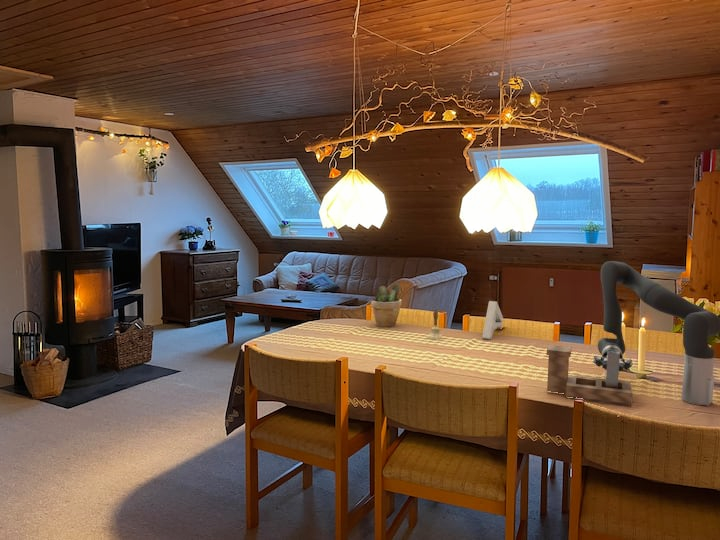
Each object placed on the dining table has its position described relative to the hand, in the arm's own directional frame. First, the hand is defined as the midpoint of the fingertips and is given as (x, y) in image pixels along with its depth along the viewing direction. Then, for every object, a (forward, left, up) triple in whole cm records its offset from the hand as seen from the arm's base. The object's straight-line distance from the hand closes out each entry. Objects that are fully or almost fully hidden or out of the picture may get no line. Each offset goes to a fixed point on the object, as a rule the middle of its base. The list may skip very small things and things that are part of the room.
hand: (612, 367), depth 203 cm
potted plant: (+145, -41, -13) cm, 151 cm away
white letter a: (+88, -68, -13) cm, 112 cm away
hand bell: (+105, -36, -13) cm, 112 cm away
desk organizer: (+9, 0, -12) cm, 15 cm away
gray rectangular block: (+1, -3, -11) cm, 11 cm away
